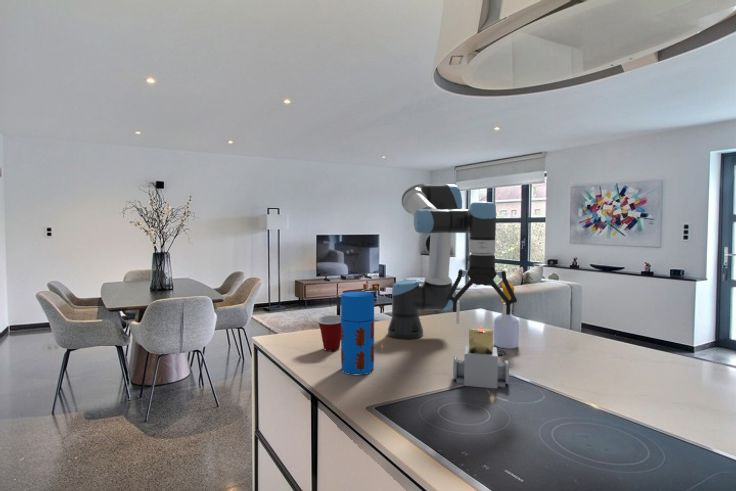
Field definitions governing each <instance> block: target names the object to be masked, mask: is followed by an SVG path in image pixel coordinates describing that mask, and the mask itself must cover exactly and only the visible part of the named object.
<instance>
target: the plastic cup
mask: <svg viewBox="0 0 736 491" xmlns="http://www.w3.org/2000/svg"><path fill="white" fill-rule="evenodd" d="M316 322H317V323H318V325H319V328H320V334H321V341H322V345H323V349H326V350H336V351H338V350H340V348H341V315H338V314H337V315H336V314H332V315H331V314H330V315H323V316H321V317H318V318H317V319H316ZM337 349H338V350H337ZM326 350H325V351H326Z"/></svg>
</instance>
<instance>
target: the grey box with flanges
mask: <svg viewBox="0 0 736 491" xmlns="http://www.w3.org/2000/svg"><path fill="white" fill-rule="evenodd" d="M497 348H498V347H497V346H493V352H492V353H490V354H477V353H473V352H471V351H469V344H468V345H466V344H465V348H464V360H463V359H462V360H459V359H458V356H453V362H452V363H453V364H452V365H453V367H452V370H453V371H452V377H453V380H456V384H462V385H464V386H465V387H477V388H478V387H479V388H486V389H487V388H488V389H498V388H506V385H509V383H510V363H509V362H510V361H509V360H506V359H505V360H504V362H503V363H500V362H498V360H499V355H498V349H497Z"/></svg>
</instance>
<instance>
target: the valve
mask: <svg viewBox="0 0 736 491" xmlns="http://www.w3.org/2000/svg"><path fill="white" fill-rule="evenodd" d="M468 345H469V351H471V352H473V353H477V354H490V353H492V352H493V347H494V330H492V329H489V328H484V326H479V327H474V328H470V329H469V330H468Z"/></svg>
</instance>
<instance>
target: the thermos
mask: <svg viewBox="0 0 736 491" xmlns="http://www.w3.org/2000/svg"><path fill="white" fill-rule="evenodd" d="M340 316H341V341H340V351H341V352H340V357H341V359H340V360H341V371H342V370H343V371H344V372H346V373H349V374H366V373H369V374H371V373H373V372H372V371H374V370H375V368H374V367H375V296H374V293H373V292H367V291H348V292H347V291H345V292H342V293H341V296H340ZM344 372H343V373H344ZM370 372H371V373H370ZM346 373H345V374H346ZM349 374H348V375H349ZM366 375H367V374H366Z"/></svg>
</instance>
